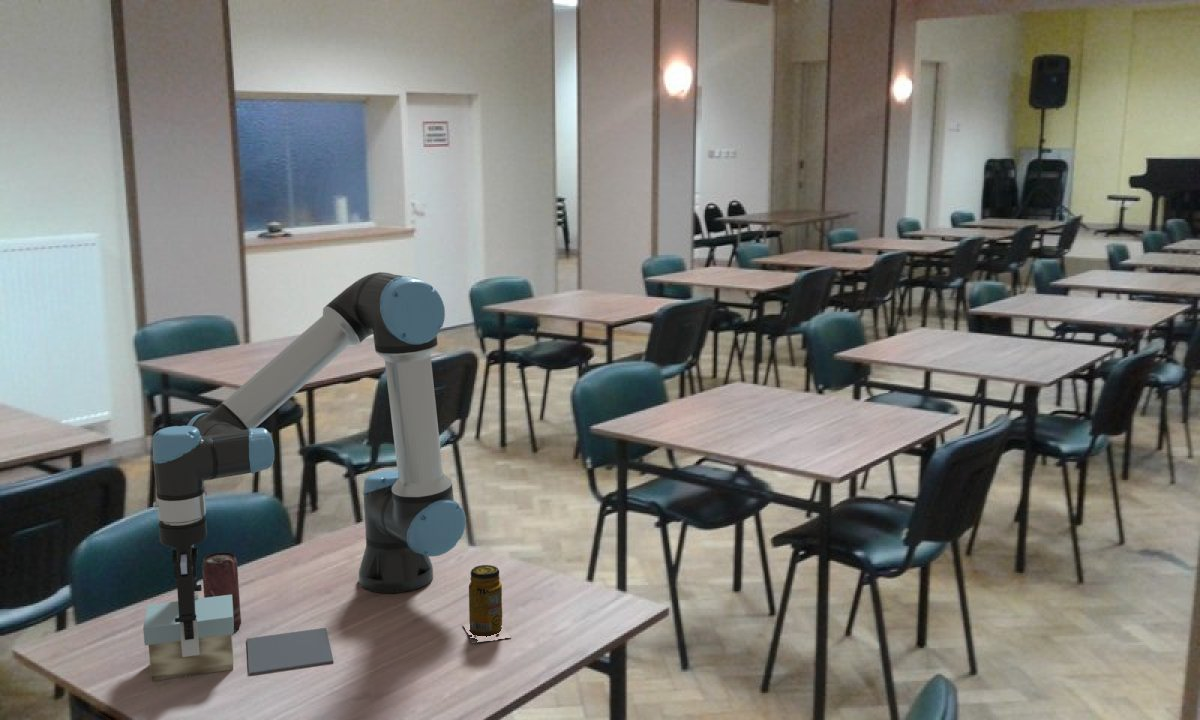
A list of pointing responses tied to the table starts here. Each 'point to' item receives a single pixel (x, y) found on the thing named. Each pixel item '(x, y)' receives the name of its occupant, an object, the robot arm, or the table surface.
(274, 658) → the mat
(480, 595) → the condiment
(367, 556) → the robot arm
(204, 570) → the can
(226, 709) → the table surface
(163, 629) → the lid
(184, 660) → the crate
